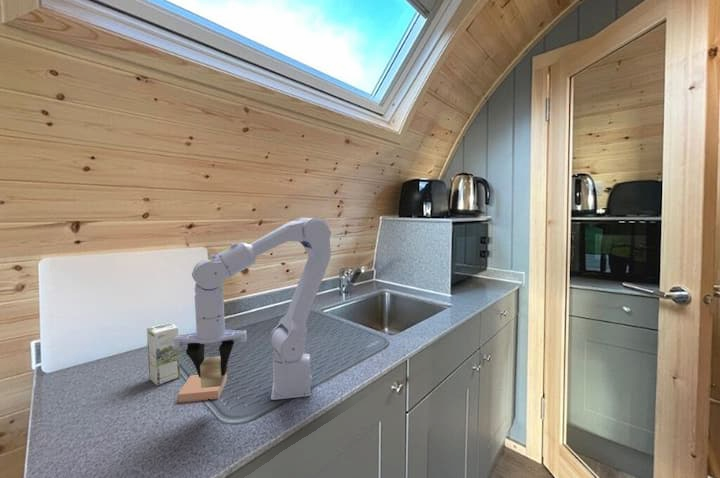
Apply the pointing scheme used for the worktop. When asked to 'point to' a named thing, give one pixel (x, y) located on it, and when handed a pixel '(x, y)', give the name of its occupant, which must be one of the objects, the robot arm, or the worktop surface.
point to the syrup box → (163, 353)
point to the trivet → (199, 390)
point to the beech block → (211, 372)
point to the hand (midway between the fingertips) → (213, 374)
